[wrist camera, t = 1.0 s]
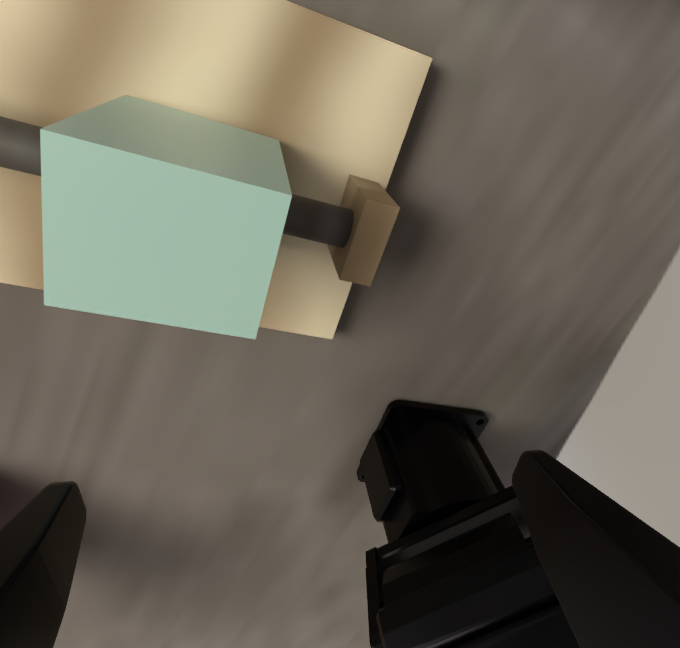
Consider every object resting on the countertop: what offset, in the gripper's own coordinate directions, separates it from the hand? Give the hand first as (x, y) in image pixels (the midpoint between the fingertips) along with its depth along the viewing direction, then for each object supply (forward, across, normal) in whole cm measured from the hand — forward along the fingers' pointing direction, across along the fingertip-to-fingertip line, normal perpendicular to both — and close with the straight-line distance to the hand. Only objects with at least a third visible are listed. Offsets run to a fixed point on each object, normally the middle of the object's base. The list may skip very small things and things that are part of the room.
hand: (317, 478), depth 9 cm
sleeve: (+11, +3, -3) cm, 12 cm away
